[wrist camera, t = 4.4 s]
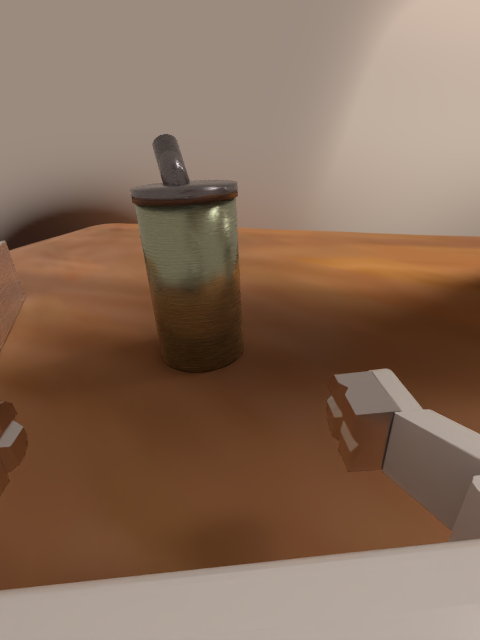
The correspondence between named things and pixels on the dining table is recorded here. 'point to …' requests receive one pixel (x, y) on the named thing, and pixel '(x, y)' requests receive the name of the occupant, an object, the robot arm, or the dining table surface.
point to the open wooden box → (8, 292)
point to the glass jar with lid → (191, 263)
